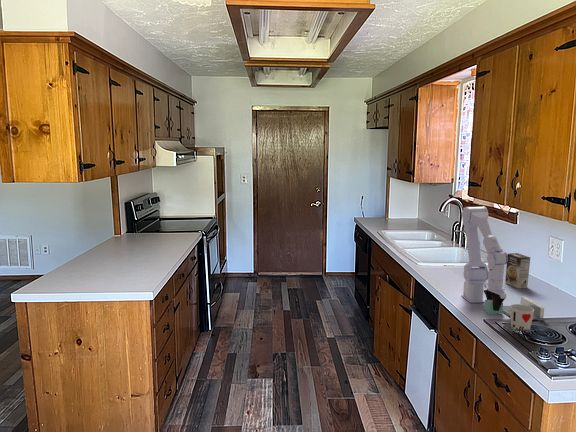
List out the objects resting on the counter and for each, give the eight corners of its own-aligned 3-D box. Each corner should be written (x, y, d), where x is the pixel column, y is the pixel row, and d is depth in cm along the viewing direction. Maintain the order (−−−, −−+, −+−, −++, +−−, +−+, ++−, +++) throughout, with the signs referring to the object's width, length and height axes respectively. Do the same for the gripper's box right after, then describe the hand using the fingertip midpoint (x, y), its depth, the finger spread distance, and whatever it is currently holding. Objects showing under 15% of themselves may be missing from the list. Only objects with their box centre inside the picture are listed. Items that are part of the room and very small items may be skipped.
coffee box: (504, 283, 225) (506, 253, 222) (514, 282, 226) (517, 252, 223) (517, 288, 216) (520, 257, 213) (528, 287, 217) (530, 256, 215)
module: (484, 310, 189) (485, 299, 188) (497, 310, 189) (498, 298, 188) (488, 314, 185) (489, 302, 184) (502, 313, 185) (503, 302, 184)
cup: (507, 333, 166) (509, 309, 165) (509, 326, 173) (511, 302, 171) (530, 338, 162) (533, 313, 160) (532, 330, 168) (534, 306, 167)
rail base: (497, 308, 191) (498, 296, 190) (523, 307, 192) (524, 295, 191) (515, 321, 177) (516, 308, 176) (543, 320, 178) (544, 307, 177)
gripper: (514, 283, 177) (511, 314, 180) (495, 273, 192) (493, 302, 194) (497, 284, 177) (495, 315, 179) (480, 273, 191) (478, 302, 194)
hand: (493, 308), depth 187 cm, fingers closed on module, 4 cm apart
